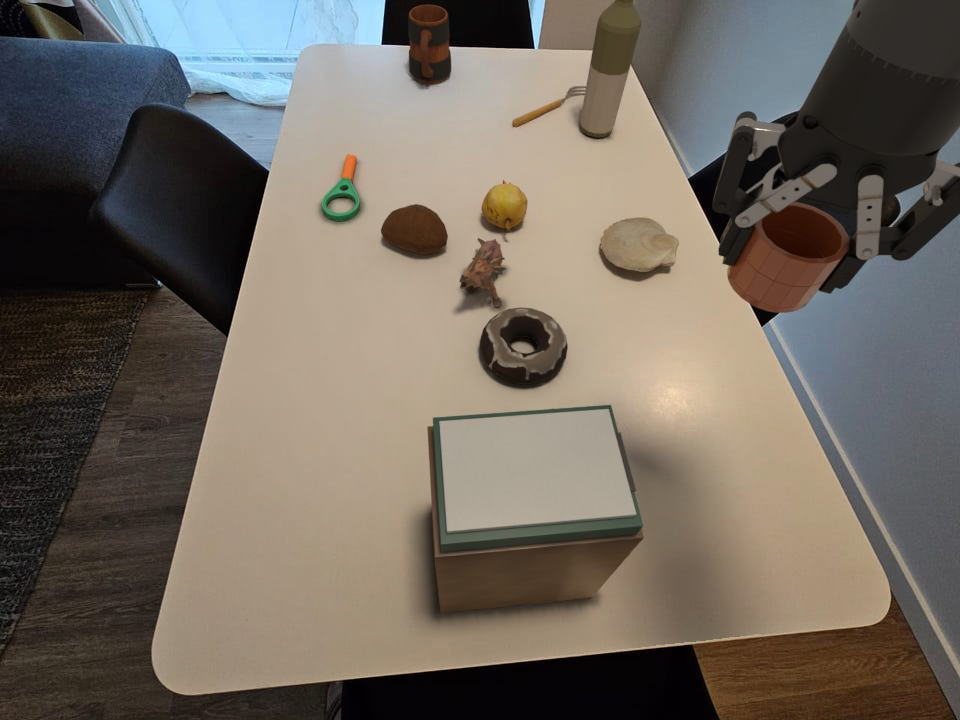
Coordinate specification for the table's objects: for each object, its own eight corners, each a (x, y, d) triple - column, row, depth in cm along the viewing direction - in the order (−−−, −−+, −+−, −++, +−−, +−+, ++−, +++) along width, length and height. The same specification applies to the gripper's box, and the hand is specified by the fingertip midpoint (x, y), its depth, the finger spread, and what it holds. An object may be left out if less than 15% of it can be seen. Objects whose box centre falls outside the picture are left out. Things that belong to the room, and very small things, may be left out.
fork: (518, 122, 106) (593, 85, 113) (511, 116, 106) (587, 79, 114) (515, 132, 108) (588, 95, 116) (509, 126, 109) (582, 89, 116)
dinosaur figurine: (499, 322, 81) (504, 277, 73) (458, 317, 81) (459, 271, 73) (509, 254, 88) (514, 207, 81) (472, 249, 89) (473, 202, 81)
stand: (572, 497, 66) (610, 412, 50) (592, 597, 60) (644, 538, 43) (434, 509, 65) (427, 426, 48) (440, 613, 58) (434, 557, 42)
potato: (389, 223, 91) (385, 187, 86) (453, 233, 91) (453, 198, 85) (377, 253, 87) (372, 218, 82) (443, 264, 87) (442, 229, 81)
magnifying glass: (357, 222, 91) (355, 214, 90) (319, 220, 91) (317, 212, 90) (369, 163, 100) (368, 155, 99) (335, 162, 100) (333, 153, 98)
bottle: (614, 121, 110) (660, -61, 85) (613, 143, 106) (661, -42, 81) (578, 117, 110) (613, -66, 86) (576, 138, 106) (612, -47, 82)
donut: (471, 326, 80) (472, 308, 77) (551, 314, 82) (555, 296, 78) (489, 396, 74) (491, 379, 70) (576, 381, 75) (581, 364, 72)
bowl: (813, 265, 44) (849, 215, 40) (809, 323, 40) (849, 274, 36) (731, 243, 45) (759, 192, 41) (721, 298, 42) (750, 247, 38)
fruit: (534, 216, 85) (532, 173, 91) (490, 205, 84) (491, 162, 89) (518, 247, 91) (517, 205, 96) (477, 238, 89) (478, 195, 95)
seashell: (584, 241, 91) (587, 227, 88) (643, 219, 94) (648, 206, 92) (626, 291, 85) (631, 277, 83) (688, 266, 88) (694, 253, 86)
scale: (607, 416, 49) (613, 400, 47) (638, 534, 44) (647, 523, 41) (433, 428, 48) (432, 413, 46) (441, 552, 42) (440, 542, 40)
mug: (403, 92, 113) (399, 31, 104) (412, 61, 120) (409, 1, 110) (447, 96, 113) (446, 35, 103) (453, 64, 120) (453, 4, 110)
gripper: (774, 36, 27) (669, 277, 41) (1113, 105, 25) (880, 338, 38) (785, -23, 32) (686, 214, 45) (1076, 30, 29) (878, 265, 43)
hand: (776, 270), depth 42 cm, fingers closed on bowl, 6 cm apart
